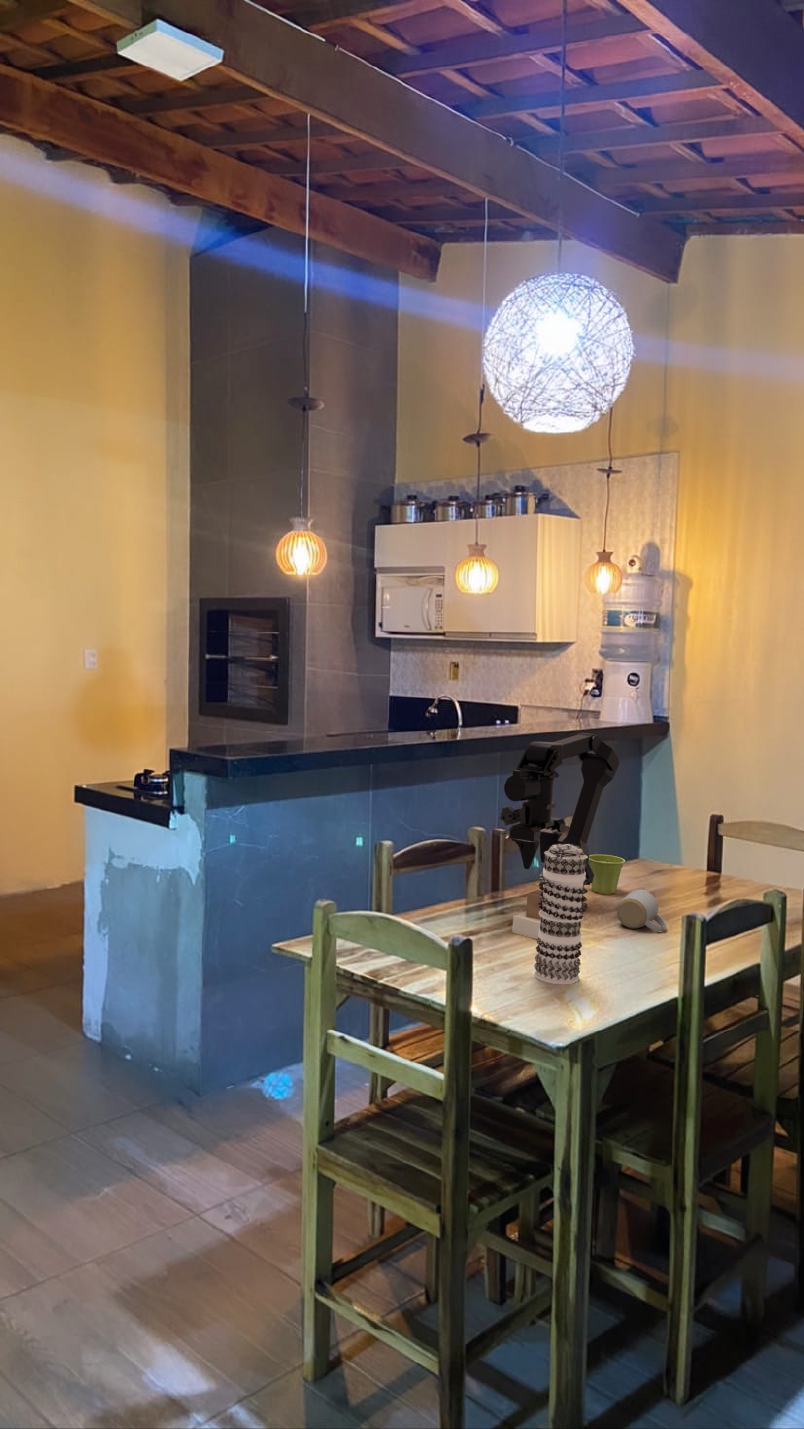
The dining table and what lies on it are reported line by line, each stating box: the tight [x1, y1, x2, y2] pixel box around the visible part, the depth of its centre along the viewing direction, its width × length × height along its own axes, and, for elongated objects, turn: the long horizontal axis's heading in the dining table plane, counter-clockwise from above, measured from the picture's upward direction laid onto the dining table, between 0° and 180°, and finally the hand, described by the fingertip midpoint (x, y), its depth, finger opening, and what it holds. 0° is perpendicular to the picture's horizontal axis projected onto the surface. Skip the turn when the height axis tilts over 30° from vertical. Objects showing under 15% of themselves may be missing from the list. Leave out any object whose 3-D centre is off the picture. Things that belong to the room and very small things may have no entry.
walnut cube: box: [525, 889, 542, 920], centre depth 221 cm, size 5×5×5 cm
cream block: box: [511, 911, 540, 939], centre depth 221 cm, size 9×9×4 cm
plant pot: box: [588, 854, 626, 895], centre depth 262 cm, size 9×9×9 cm
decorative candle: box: [533, 844, 589, 986], centre depth 192 cm, size 9×9×25 cm
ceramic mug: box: [616, 889, 668, 933], centre depth 231 cm, size 11×8×8 cm
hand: (535, 865), depth 232 cm, fingers open, 9 cm apart
